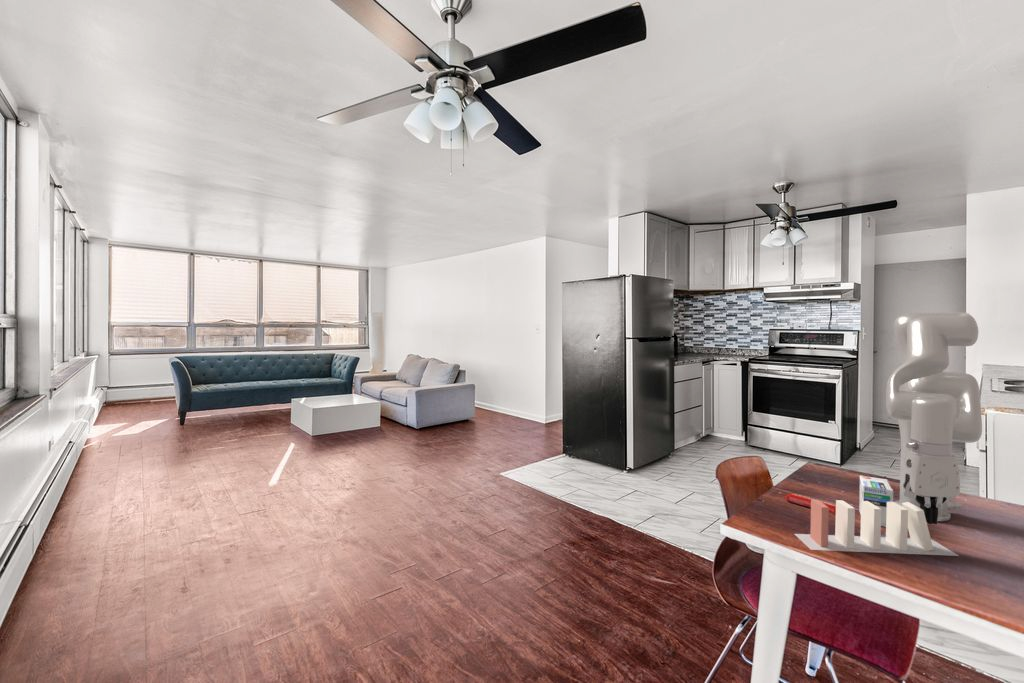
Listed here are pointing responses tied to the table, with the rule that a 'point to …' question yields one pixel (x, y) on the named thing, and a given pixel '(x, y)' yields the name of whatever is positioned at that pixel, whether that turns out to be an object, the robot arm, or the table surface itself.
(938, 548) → the felt strip
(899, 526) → the domino
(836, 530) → the domino
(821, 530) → the domino
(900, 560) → the table surface
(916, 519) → the domino
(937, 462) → the robot arm
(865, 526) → the domino
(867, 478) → the light bulb box
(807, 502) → the candy bar
